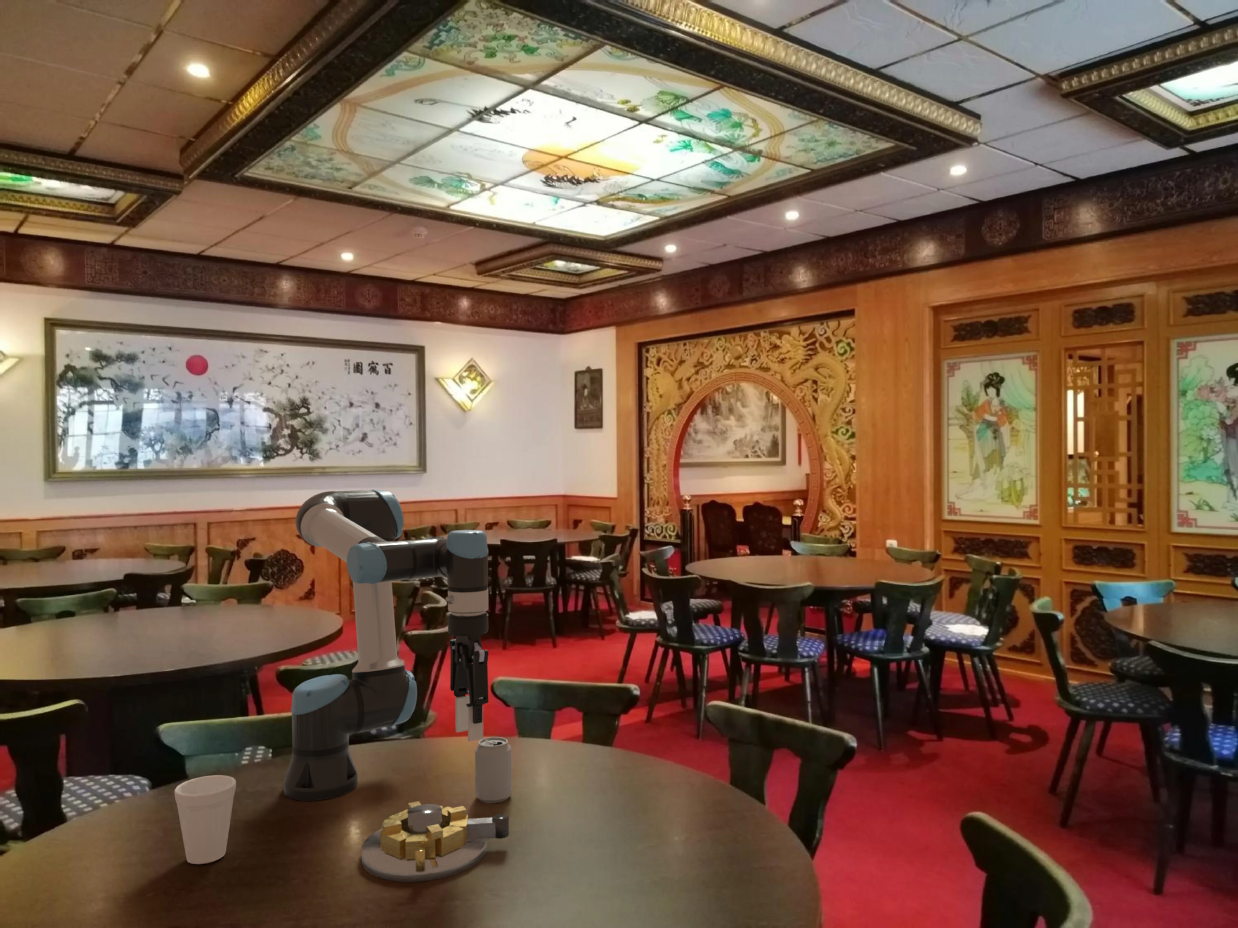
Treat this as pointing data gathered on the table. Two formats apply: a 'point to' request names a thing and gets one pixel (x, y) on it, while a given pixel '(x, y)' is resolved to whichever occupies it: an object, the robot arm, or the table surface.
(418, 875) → the cap base
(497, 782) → the can
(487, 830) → the ring nut
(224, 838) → the cup
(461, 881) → the table surface
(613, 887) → the table surface
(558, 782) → the table surface
